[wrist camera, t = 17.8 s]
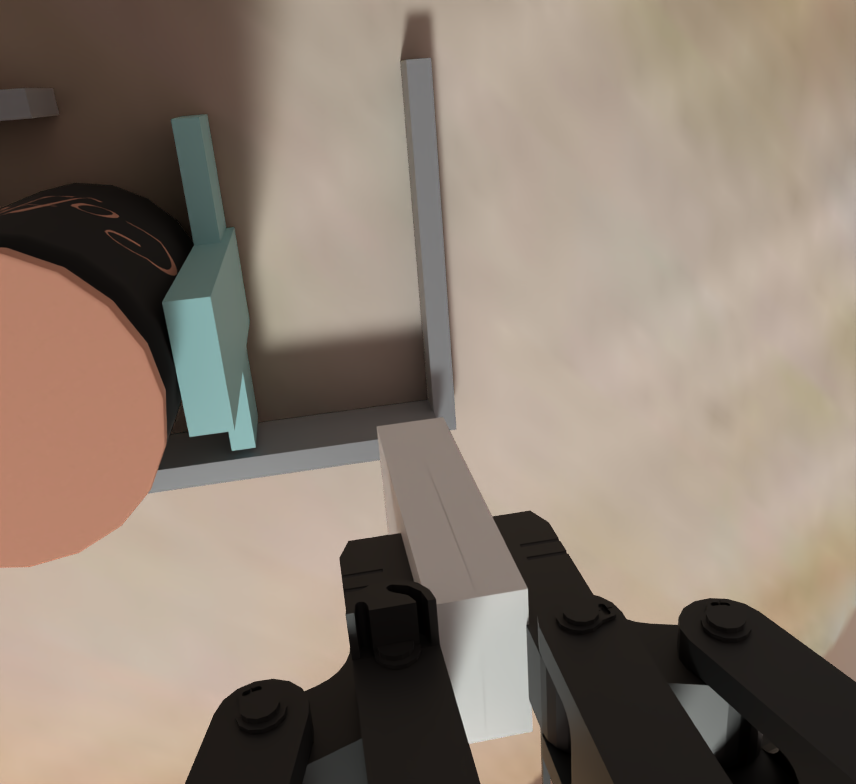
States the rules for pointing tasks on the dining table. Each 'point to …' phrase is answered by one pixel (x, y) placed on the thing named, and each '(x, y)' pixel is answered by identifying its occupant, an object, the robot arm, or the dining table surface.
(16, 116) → the grey piece
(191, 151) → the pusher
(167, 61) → the dining table surface
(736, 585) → the dining table surface
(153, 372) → the coffee jar
